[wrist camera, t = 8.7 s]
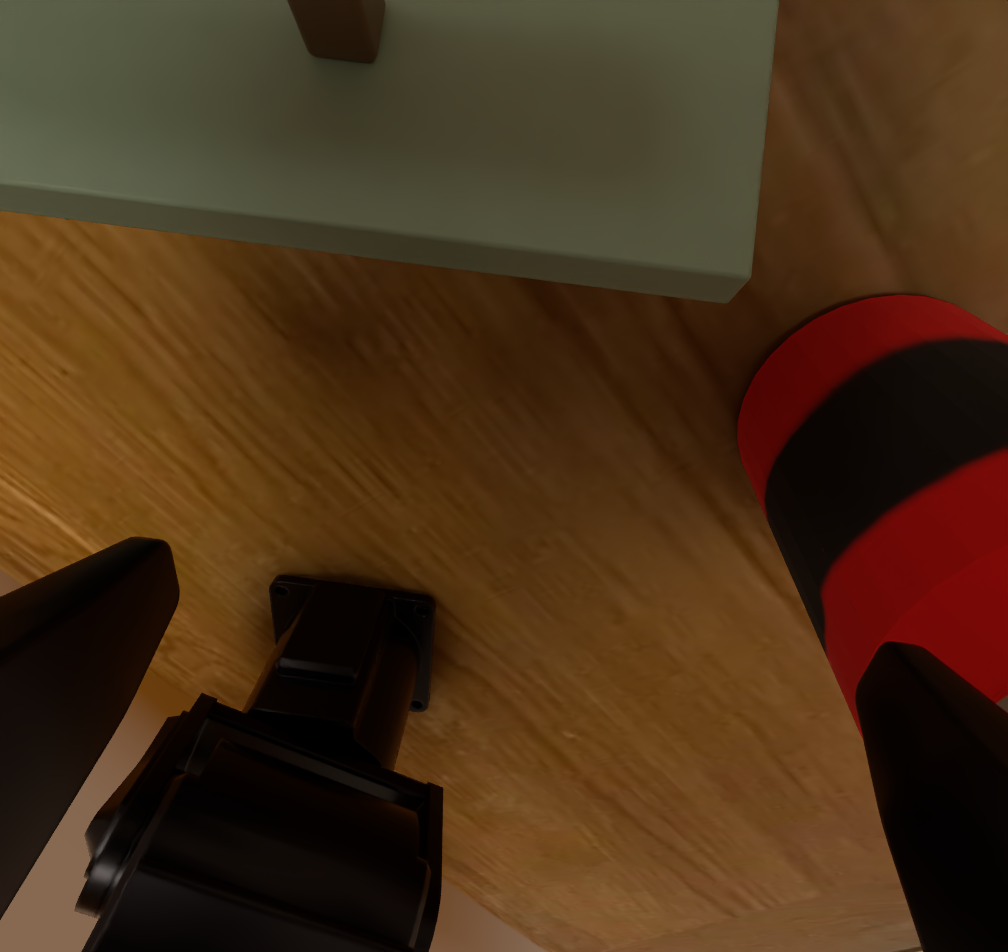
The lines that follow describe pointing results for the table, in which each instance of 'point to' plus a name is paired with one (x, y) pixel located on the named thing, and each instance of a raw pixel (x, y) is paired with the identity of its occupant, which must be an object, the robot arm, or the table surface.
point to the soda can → (890, 482)
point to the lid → (405, 129)
